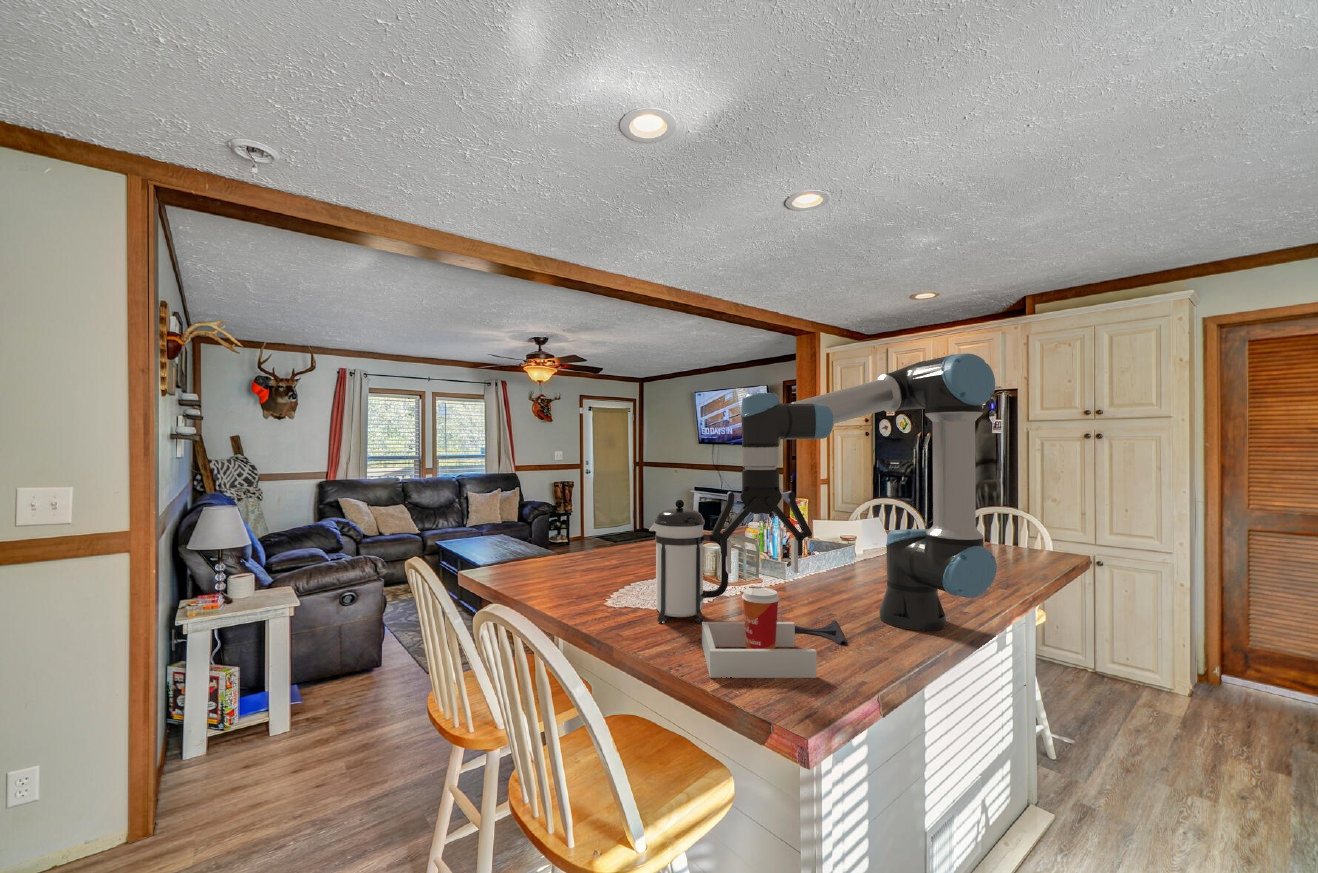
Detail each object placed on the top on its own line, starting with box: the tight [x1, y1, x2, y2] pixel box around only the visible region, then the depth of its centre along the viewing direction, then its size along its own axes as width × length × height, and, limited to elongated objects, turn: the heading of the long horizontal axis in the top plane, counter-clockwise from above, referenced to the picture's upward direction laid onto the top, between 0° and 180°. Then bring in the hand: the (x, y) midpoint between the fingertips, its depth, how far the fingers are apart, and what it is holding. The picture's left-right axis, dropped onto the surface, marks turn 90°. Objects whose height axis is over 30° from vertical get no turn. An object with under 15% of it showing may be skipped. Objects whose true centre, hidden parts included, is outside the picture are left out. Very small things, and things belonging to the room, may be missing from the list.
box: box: [701, 621, 817, 679], centre depth 114 cm, size 20×17×5 cm
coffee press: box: [648, 499, 729, 624], centre depth 143 cm, size 17×16×30 cm
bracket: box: [781, 619, 848, 646], centre depth 131 cm, size 14×15×3 cm
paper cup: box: [741, 587, 780, 649], centre depth 114 cm, size 8×8×14 cm
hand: (761, 571), depth 114 cm, fingers open, 13 cm apart
